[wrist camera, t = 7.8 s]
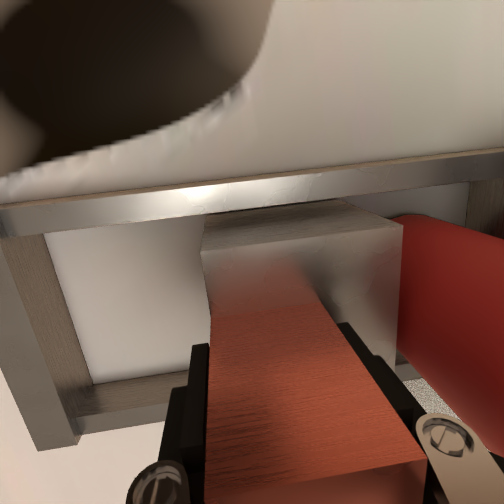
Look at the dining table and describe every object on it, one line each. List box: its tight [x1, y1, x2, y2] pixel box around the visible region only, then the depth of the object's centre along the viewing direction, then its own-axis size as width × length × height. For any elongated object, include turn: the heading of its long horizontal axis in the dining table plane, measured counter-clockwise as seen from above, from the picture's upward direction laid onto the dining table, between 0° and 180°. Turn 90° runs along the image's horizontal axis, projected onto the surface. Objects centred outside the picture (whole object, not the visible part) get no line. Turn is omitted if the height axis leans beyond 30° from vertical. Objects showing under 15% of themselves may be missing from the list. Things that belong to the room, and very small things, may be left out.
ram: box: [200, 200, 428, 504], centre depth 12 cm, size 7×9×12 cm
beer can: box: [391, 215, 504, 457], centre depth 13 cm, size 7×7×12 cm
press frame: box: [0, 147, 504, 451], centre depth 13 cm, size 28×12×9 cm, turn 96°
